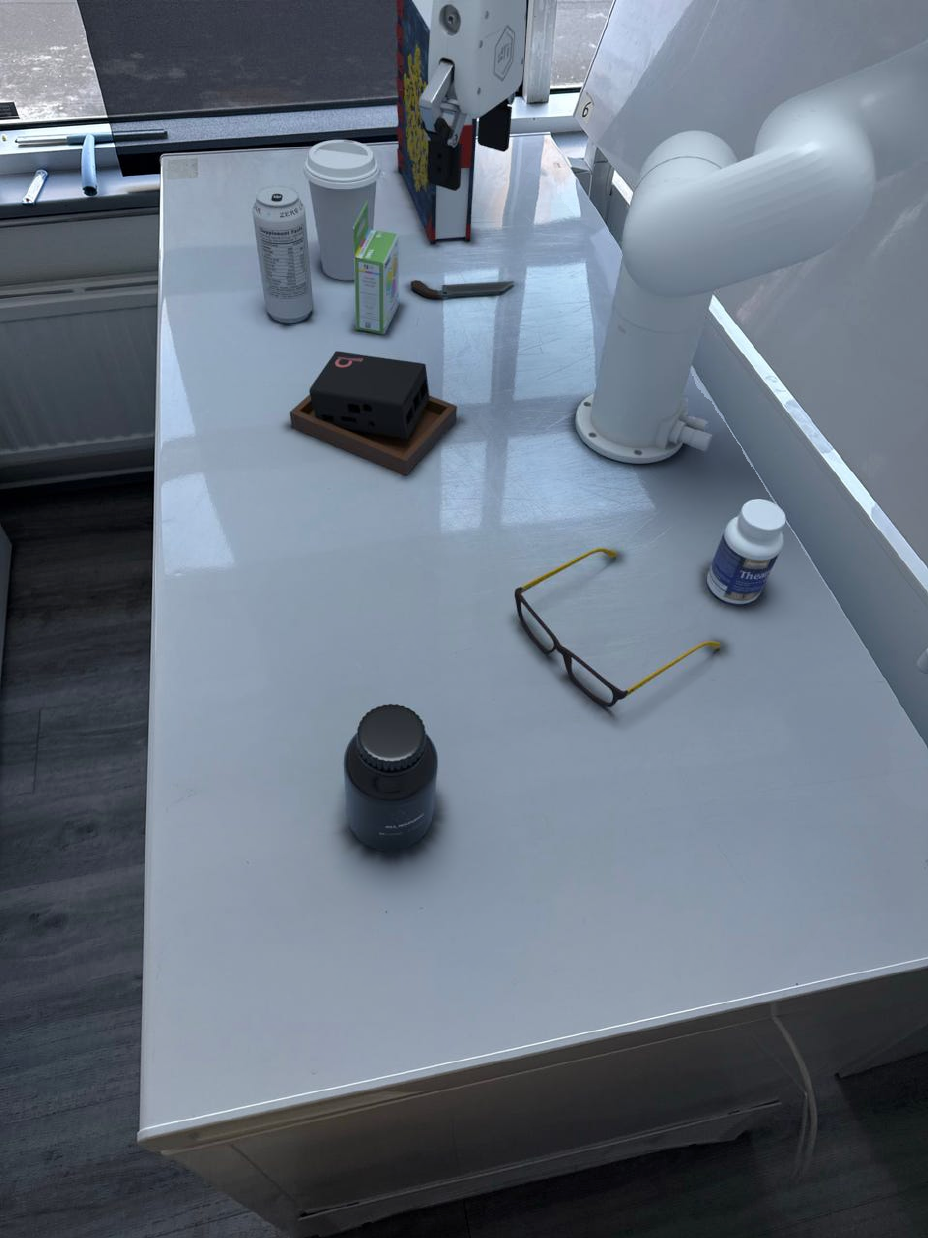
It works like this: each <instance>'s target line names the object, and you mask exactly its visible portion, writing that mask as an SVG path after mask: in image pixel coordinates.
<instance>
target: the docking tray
mask: <svg viewBox="0 0 928 1238" xmlns="http://www.w3.org/2000/svg"><path fill="white" fill-rule="evenodd" d="M429 397H430V398H429V401H428V403H427V405H426V406H425V408H424V410H423V412H422V414H421V415H420V417H419V419H418V421H417V423H416V424H415V426H414V428H413V430H412V432H411V433H410V435H409V437H408V439H402V438H396V437H390V436H384V435H378V434H372V433H366V432H360V431H353V430H347V429H342V428H339V427H337V426H335V425H332V424H330V423H327V422H325V421H323V420H320V419H318V418H316V417H315V413H314V409H313V405H312V401H311V397H310V394H307V396H306V397H305V398H304V399H303V400H301V401H300V403H298V404H297V405H296V406H295V407H294V408H293V409H291V410H290V411H289V418H290V419H289V420H290V427H291V428H292V429H295V430H297V431H299V432H302V433H304V434H306V435H309V436H311V437H314V438H316V439H317V440H318V439H319V440H320V441H323V442H325V443H328V444H330V445H333V446H335V447H337V448H340V449H342V450H344V451H346V452H349V453H352V454H354V455H356V456H359V457H361V458H363V459H365V460H369V461H371V462H373V463H374V464H375V463H376V464H378V465H380V466H383V467H385V468H388V469H389V470H392V471H394V472H396V473H399V474H400V475H401V474H402V475H404V476H407V475H409V473H410V472H411V471H413V469H414V468H415V467H416V466H417V464H418V463H419V462H420V461H421V460H422V459H423V458H424V457H425V455H427V454H428V453H429V451H430V450H431V449H432V448H433V447H434V446H435V445H436V444H437V443H438V441H439V440H440V439H441V438H442V437H443V436H444V435H445V434H446V433H447V431H448V430H450V428H451V427H452V426H453V425H454V424H455V423H456V422H457V413H458V406H457V405H455V404H453V403H450V402H448V401H445V400H443V399H440V398H437V397H435V396H432V395H430V394H429Z"/></svg>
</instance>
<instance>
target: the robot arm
mask: <svg viewBox="0 0 928 1238" xmlns="http://www.w3.org/2000/svg"><path fill="white" fill-rule="evenodd" d="M526 24H527V0H433V6H432V16H431V27H430V41H429V61H428V85H427V87H426V88H425V90H424V92H423V93H422V95H421V97H420V99H419V109H420V113H421V117H422V127H423V129H424V131H425V138H426V139H427V140H428V181H429V183H431V184H434V185H437V186H440V187H444V188H447V189H450V190H453V191H456V190H458V189H459V188H460V186H461V166H462V145H463V144H460V143H458V140H459V137H460V134H461V131H462V129H463V126H464V123H465V120H466V117H467V115H469V117H470V118H473V119H477V120H478V123H477V143H478V145H479V146H481V147H486V148H489V149H492V150H495V151H499V152H503V153H505V152H506V151H508V150H509V148H510V139H511V127H512V126H511V125H512V113H513V107H512V105H513V104H514V103H515V99H516V91H518V90H519V88H520V86H521V85H522V82H523V77H524V65H525V64H524V63H525V49H526V48H525V45H526ZM452 99H453V100H457V101H458V103H459V105H457V104H453V103H449V101H451V100H452ZM444 113H447V114H450V115H454V119H453V122H452V125H451V128H450V127H449V125H448V124H447V122H446V121H445V119H444V118H442V117H443V114H444ZM925 162H928V38H927V39H925V40H924V41H922V42H920V43H918V44H916V45H914V46H912V47H910V48H908V49H906V50H904V51H902V52H900V53H898V54H896V55H894V56H891V57H889V58H888V59H885V60H883V61H880V62H877V63H875V64H872V65H870V66H867V67H865V68H863V69H860V70H858V71H855V72H853V73H850V74H847V75H846V76H843V77H840V78H838V79H836V80H833V81H830V82H828V83H825V84H823V85H820V86H817V87H815V88H812V89H810V90H807V91H804V92H802V93H799V94H796V95H794V96H792V97H790V98H788V99H786V100H785V101H784V102H782V103H780V104H779V105H778V106H776V107H775V108H774V109H773V110H772V111H771V112H770V113H769V115H768V116H767V117H766V119H765V120H764V121H763V123H762V125H761V126H760V128H759V132H758V134H757V137H756V141H755V144H754V148H753V154H752V156H750V157H748V158H745V159H743V160H740V161H738V159H737V156H736V155H735V152H734V151H733V149H732V148H731V147H730V146H729V144H728V143H727V142H726V141H725V140H723V139H722V138H721V137H719V136H717V135H716V134H714V133H712V132H708V131H704V130H695V129H694V130H687V131H681V132H679V133H676V134H674V135H672V136H670V137H668V138H667V139H665V140H663V141H662V142H661V143H660V144H659V145H657V147H655V148H654V149H653V151H652V152H651V153H650V154H649V156H648V157H647V158H646V159H645V161H644V163H643V165H642V167H641V169H640V171H639V173H638V176H637V179H636V182H635V185H634V189H633V193H632V196H631V199H630V203H629V207H628V212H627V213H626V214H627V215H626V218H625V222H624V226H623V231H622V236H621V255H622V256H621V261H620V265H619V270H618V275H617V279H616V285H615V290H614V294H613V298H612V304H611V308H610V313H609V319H608V323H607V328H606V333H605V337H604V338H605V339H604V343H603V347H602V352H601V358H600V362H599V368H598V373H597V377H596V382H595V388H594V392H592V393H591V394H589V395H588V396H586V397H585V398H584V399H583V400H581V402H580V404H579V405H578V407H577V410H576V413H575V420H574V425H575V429H576V432H577V434H578V436H579V437H580V439H581V440H582V442H583V443H584V444H586V445H587V446H588V447H589V448H590V449H592V450H593V451H594V452H596V453H598V454H599V455H601V456H604V457H605V458H608V459H611V460H613V461H618V462H620V463H621V462H622V463H626V464H636V465H637V464H639V465H640V464H641V465H642V464H652V463H657V462H661V461H663V460H666V459H669V458H670V457H672V456H673V455H675V454H676V453H677V452H678V451H679V450H680V449H681V447H682V446H683V444H685V445H688V446H690V447H692V448H694V449H697V450H699V451H703V452H707V450H708V448H709V446H710V444H711V441H712V438H713V435H712V434H711V433H708V432H705V431H706V430H707V428H708V425H709V421H708V420H706V419H703V418H700V417H696V416H693V415H690V412H688V411H686V408H687V405H688V402H689V398H688V397H686V396H684V393H685V390H686V386H687V383H688V380H689V376H690V373H691V369H692V367H693V363H694V359H695V356H696V352H697V350H698V349H697V348H698V345H699V342H700V340H701V339H700V338H701V336H702V331H703V328H704V325H705V321H706V319H707V315H708V313H709V309H710V306H711V303H712V300H713V296H714V292H715V290H718V289H719V290H720V289H721V288H725V287H727V286H731V285H732V286H733V285H735V284H737V283H741V282H744V281H747V280H750V279H753V278H756V277H760V276H764V275H766V274H769V273H772V272H775V271H779V270H782V269H785V268H788V267H792V266H794V265H797V264H800V263H804V262H805V261H809V260H811V259H813V258H816V257H817V256H820V255H822V254H824V253H825V252H827V251H829V250H831V249H832V248H834V247H835V246H837V245H838V244H840V243H841V242H842V241H843V240H845V239H846V238H847V237H848V236H849V235H851V234H852V233H853V231H854V230H855V229H856V228H857V227H858V226H859V225H860V223H861V222H862V220H863V219H864V218H865V216H866V214H867V212H868V210H869V208H870V206H871V204H872V201H873V197H874V194H875V189H876V182H879V181H881V180H883V179H885V178H888V177H891V176H893V175H896V174H899V173H901V172H904V171H907V170H909V169H911V168H915V167H916V166H918V165H921V164H923V163H925Z"/></svg>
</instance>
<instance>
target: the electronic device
mask: <svg viewBox="0 0 928 1238" xmlns="http://www.w3.org/2000/svg"><path fill="white" fill-rule="evenodd" d="M429 389H430V388H429V379H428V371H427V364H425V363H423V362H415V361H410V360H409V361H408V360H402V359H396V358H395V359H394V358H388V357H381V356H373V355H367V354H359V353H352V352H346V351H345V352H344V351H337V350H336V351H334V353H333V354H332V356H331V357H330V359H329V360H328V362H327V363H326V365H325V366H324V368H322V370H321V371H320V373H319V374H318V376H317V377H316V379H315V381H314V382H313V383H312V385H311V386H310V388H309V395H310V397H311V401H312V405H313V409H314V413H315V417H316V418H318V419H320V420H323V421H325V422H327V423H330V424H332V425H335V426H337V427H339V428H342V429H347V430H353V431H360V432H366V433H372V434H378V435H384V436H390V437H396V438H402V439H408V437H409V435H410V433H411V432H412V430H413V428H414V426H415V424H416V423H417V421H418V419H419V417H420V415H421V414H422V412H423V410H424V408H425V406H426V405H427V403H428V401H429V398H430V397H429V395H430V390H429Z"/></svg>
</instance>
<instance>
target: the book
mask: <svg viewBox="0 0 928 1238" xmlns="http://www.w3.org/2000/svg"><path fill="white" fill-rule="evenodd" d="M432 6H433V0H396V13H397V23H396V24H395V25H396V41H397V49H396V50H395V51H396V52H395V53H396V64H397V66H396V67H397V76H396V89H397V101H396V110H397V125H396V132H397V146H398V147H397V148H396V153H397V165H398V170H397V171H398V173H399V174H400V175H401V176H402V179H403V181H404V184H405V186H406V188H407V191H408V193H409V196H410V198H411V200H412V202H413V205H414V207H415V209H416V211H417V212H416V213H417V215H418V216H419V219H420V221H421V223H422V226H423V228H424V232H425V234H426V237H427V239H428V241H429V242H430V243H429V244H430V245H435V244H436V240H440V239H453V238H463V239H464V240H465V243H466V242H471V232H472V231H471V230H472V213H473V212H472V211H473V196H474V178H475V177H474V176H475V162H476V144H477V130H478V118H477V119H473V118H470V117H469V115H467V117H466V120H465V123H464V126H463V129H462V131H461V134H460V137H459V140H458V143H460V144H463V145H462V166H461V186H460V188H459V189H458V190H456V191H453V190H450V189H447V188H444V187H440V186H437V185H434V184H431V183H429V181H428V140H427V139H426V138H425V131H424V129H423V127H422V117H421V113H420V109H419V99H420V97H421V95H422V93H423V92H424V90H425V88H426V87H427V85H428V61H429V41H430V27H431V16H432ZM449 103H453V104H457V105H459V103H458V101H457V100H453V99H452V100H451V101H449ZM442 118H444V119H445V121H446V122H447V124H448V125H449V127H450V128H451V125H452V122H453V119H454V115H450V114H447V113H444V114H443V117H442Z"/></svg>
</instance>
